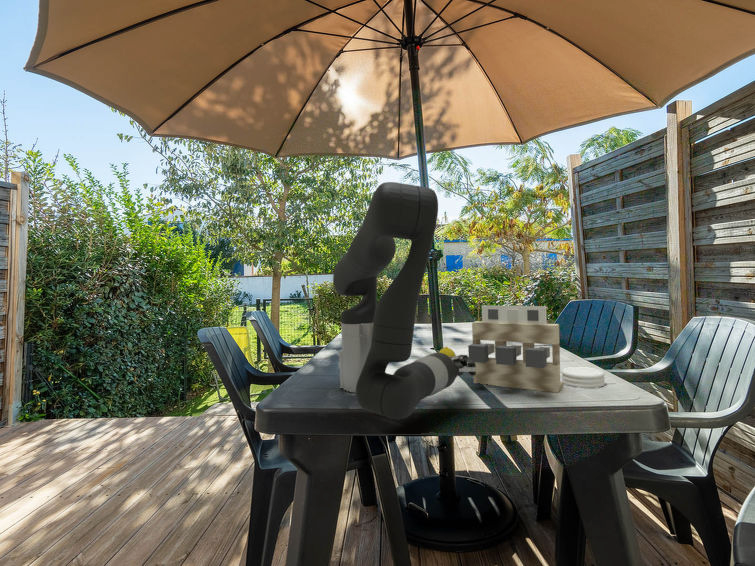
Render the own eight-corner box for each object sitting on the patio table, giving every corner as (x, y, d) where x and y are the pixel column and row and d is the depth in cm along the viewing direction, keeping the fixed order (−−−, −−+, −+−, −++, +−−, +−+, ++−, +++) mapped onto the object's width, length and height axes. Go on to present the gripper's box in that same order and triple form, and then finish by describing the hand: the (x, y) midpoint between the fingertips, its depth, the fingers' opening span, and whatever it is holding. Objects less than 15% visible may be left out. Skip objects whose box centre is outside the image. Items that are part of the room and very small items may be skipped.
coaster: (555, 385, 115) (554, 371, 115) (570, 377, 123) (570, 364, 122) (596, 391, 108) (596, 376, 108) (610, 383, 116) (610, 369, 115)
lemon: (456, 376, 127) (455, 348, 127) (436, 376, 128) (435, 348, 128) (457, 372, 132) (456, 345, 132) (438, 372, 133) (437, 345, 133)
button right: (525, 366, 105) (525, 349, 105) (537, 358, 113) (536, 343, 113) (543, 368, 103) (543, 350, 103) (553, 360, 111) (553, 344, 111)
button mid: (496, 364, 109) (495, 347, 109) (509, 356, 117) (508, 341, 117) (512, 365, 107) (512, 348, 107) (525, 358, 115) (524, 342, 115)
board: (473, 383, 119) (472, 322, 119) (482, 378, 124) (480, 320, 124) (557, 392, 108) (556, 325, 107) (563, 387, 112) (561, 322, 112)
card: (481, 322, 118) (481, 305, 118) (483, 322, 119) (482, 305, 118) (545, 324, 109) (545, 306, 109) (546, 324, 110) (546, 306, 109)
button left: (468, 361, 113) (468, 345, 113) (483, 354, 121) (482, 339, 121) (484, 362, 111) (483, 346, 110) (498, 355, 119) (497, 340, 119)
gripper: (460, 358, 88) (491, 345, 102) (401, 353, 95) (438, 341, 109) (461, 397, 88) (492, 378, 102) (402, 389, 95) (439, 372, 110)
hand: (464, 359), depth 106 cm, fingers closed
